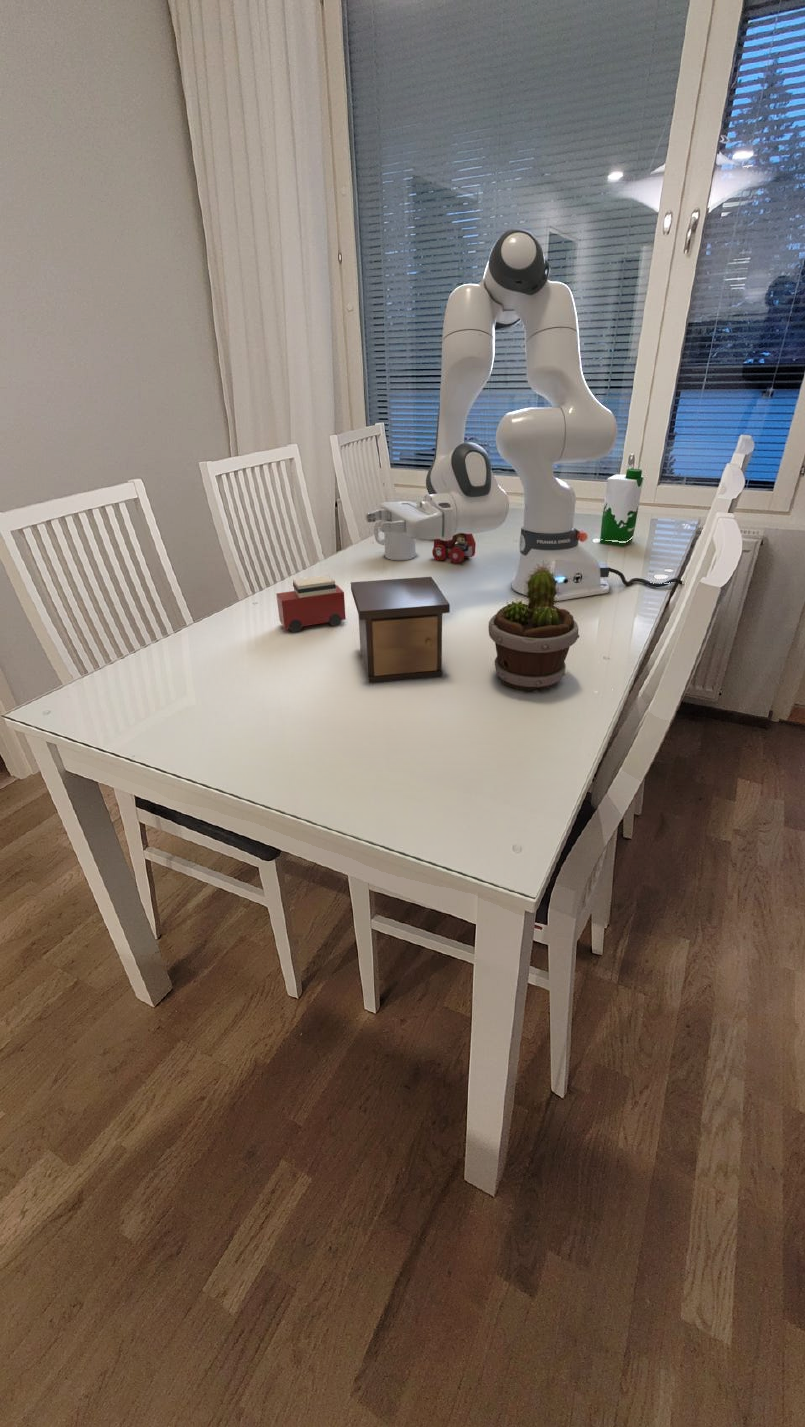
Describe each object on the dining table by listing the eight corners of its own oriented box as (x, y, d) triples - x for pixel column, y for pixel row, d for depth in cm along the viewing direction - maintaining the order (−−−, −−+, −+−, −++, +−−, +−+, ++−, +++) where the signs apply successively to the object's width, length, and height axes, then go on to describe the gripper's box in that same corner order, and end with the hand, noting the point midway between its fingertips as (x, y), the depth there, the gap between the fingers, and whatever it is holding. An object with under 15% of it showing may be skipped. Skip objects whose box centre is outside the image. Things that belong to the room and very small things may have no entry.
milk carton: (626, 547, 181) (637, 473, 171) (595, 543, 186) (604, 470, 176) (636, 540, 187) (648, 468, 177) (606, 536, 192) (616, 465, 182)
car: (339, 615, 139) (335, 573, 135) (346, 624, 135) (343, 580, 130) (279, 624, 135) (274, 581, 131) (285, 634, 131) (280, 589, 126)
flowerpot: (555, 707, 103) (570, 586, 93) (470, 685, 110) (474, 571, 100) (585, 672, 113) (600, 561, 103) (505, 654, 120) (512, 548, 110)
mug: (420, 553, 179) (420, 513, 174) (407, 561, 173) (407, 520, 167) (382, 549, 184) (380, 510, 178) (368, 557, 177) (366, 516, 172)
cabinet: (430, 643, 125) (431, 576, 119) (449, 679, 112) (450, 605, 105) (354, 650, 123) (350, 582, 117) (363, 687, 110) (359, 612, 103)
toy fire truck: (467, 565, 169) (469, 525, 164) (426, 559, 175) (427, 520, 170) (479, 559, 174) (480, 520, 169) (439, 552, 180) (439, 515, 175)
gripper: (417, 492, 142) (357, 497, 138) (455, 509, 125) (388, 516, 121) (417, 521, 145) (359, 527, 141) (455, 542, 128) (389, 549, 124)
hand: (373, 522), depth 131 cm, fingers open, 8 cm apart
